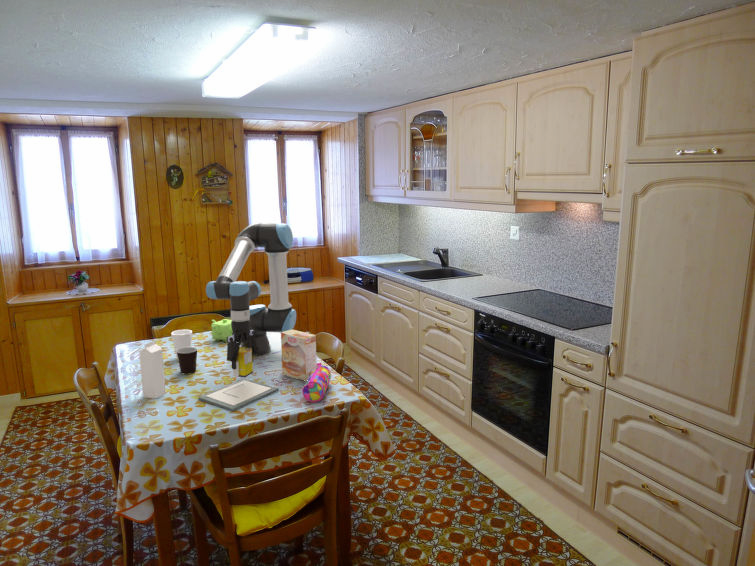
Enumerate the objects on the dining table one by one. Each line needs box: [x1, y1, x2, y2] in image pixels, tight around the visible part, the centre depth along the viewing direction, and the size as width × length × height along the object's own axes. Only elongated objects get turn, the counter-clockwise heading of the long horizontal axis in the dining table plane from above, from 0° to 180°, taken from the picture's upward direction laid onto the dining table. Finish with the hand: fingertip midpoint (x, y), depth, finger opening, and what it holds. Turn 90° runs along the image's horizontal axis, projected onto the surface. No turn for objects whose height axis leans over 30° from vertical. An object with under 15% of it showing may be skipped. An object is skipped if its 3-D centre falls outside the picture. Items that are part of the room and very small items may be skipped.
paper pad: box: [197, 377, 280, 412], centre depth 211 cm, size 24×20×1 cm
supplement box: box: [237, 347, 254, 379], centre depth 217 cm, size 6×6×11 cm
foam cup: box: [170, 329, 193, 360], centre depth 253 cm, size 10×9×13 cm
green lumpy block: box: [211, 318, 233, 343], centre depth 284 cm, size 15×14×11 cm
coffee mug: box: [177, 346, 198, 375], centre depth 237 cm, size 12×9×10 cm
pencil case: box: [301, 362, 332, 403], centre depth 212 cm, size 22×9×9 cm, turn 179°
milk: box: [139, 340, 167, 400], centre depth 208 cm, size 6×6×22 cm
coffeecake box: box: [280, 328, 317, 382], centre depth 229 cm, size 15×7×20 cm, turn 53°
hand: (243, 373), depth 218 cm, fingers closed on supplement box, 7 cm apart
